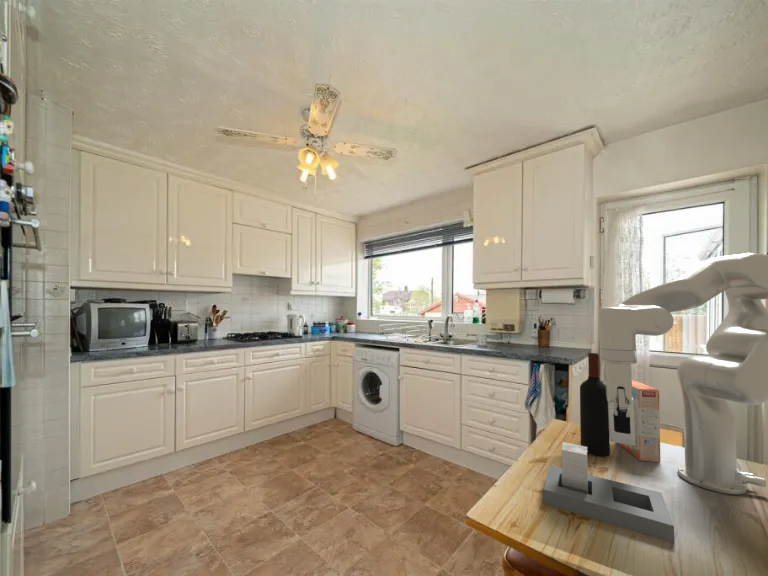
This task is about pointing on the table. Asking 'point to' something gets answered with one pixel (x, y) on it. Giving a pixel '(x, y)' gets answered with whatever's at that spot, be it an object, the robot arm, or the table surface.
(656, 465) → the table surface
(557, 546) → the table surface
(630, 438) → the loose billet
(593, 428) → the wine bottle
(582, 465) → the block
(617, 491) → the tray
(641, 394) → the cracker box
